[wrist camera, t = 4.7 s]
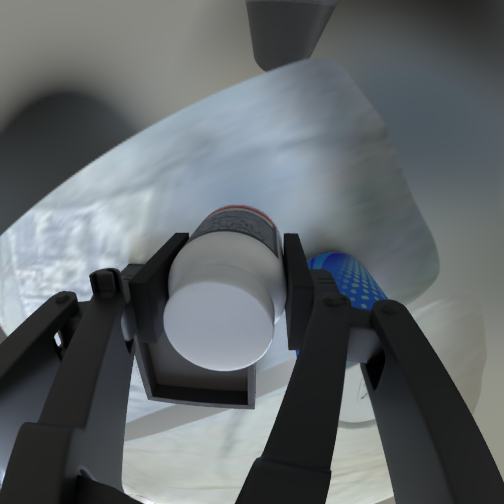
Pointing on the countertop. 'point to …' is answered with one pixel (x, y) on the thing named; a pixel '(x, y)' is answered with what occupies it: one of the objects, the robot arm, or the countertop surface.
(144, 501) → the champagne flute
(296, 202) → the countertop surface
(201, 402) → the tray
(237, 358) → the pill bottle
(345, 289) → the beer can
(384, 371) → the robot arm
